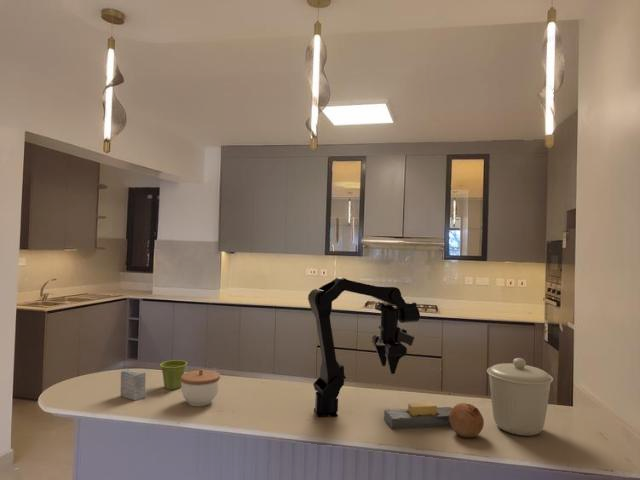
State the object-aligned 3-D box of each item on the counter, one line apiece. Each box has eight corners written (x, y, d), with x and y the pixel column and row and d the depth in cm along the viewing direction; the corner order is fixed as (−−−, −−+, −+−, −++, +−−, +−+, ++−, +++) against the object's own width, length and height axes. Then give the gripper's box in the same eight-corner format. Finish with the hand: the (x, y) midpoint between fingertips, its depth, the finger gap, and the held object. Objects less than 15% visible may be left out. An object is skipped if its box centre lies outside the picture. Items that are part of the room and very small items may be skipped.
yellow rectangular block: (411, 424, 134) (412, 407, 134) (407, 420, 137) (408, 403, 137) (436, 423, 135) (436, 405, 135) (432, 419, 138) (432, 402, 138)
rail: (391, 429, 131) (391, 418, 131) (384, 419, 137) (384, 409, 137) (461, 425, 134) (461, 415, 134) (450, 416, 141) (450, 406, 141)
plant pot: (179, 392, 158) (180, 367, 158) (154, 390, 159) (155, 366, 159) (190, 384, 167) (191, 361, 167) (167, 382, 168) (167, 359, 168)
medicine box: (145, 397, 152) (146, 372, 152) (134, 401, 148) (134, 375, 148) (131, 392, 156) (132, 368, 156) (119, 396, 152) (120, 371, 152)
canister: (561, 445, 122) (563, 368, 123) (492, 438, 126) (494, 364, 126) (540, 419, 140) (542, 353, 140) (480, 414, 143) (482, 349, 143)
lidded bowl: (200, 412, 140) (200, 377, 140) (172, 404, 146) (172, 370, 146) (227, 400, 151) (228, 368, 151) (200, 393, 157) (200, 362, 157)
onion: (478, 449, 125) (494, 423, 122) (448, 440, 125) (462, 414, 121) (469, 424, 134) (483, 399, 131) (440, 416, 133) (454, 390, 130)
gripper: (422, 328, 142) (421, 377, 142) (401, 318, 160) (401, 361, 160) (389, 328, 140) (388, 378, 140) (372, 318, 158) (371, 362, 158)
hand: (388, 369), depth 150 cm, fingers open, 9 cm apart
